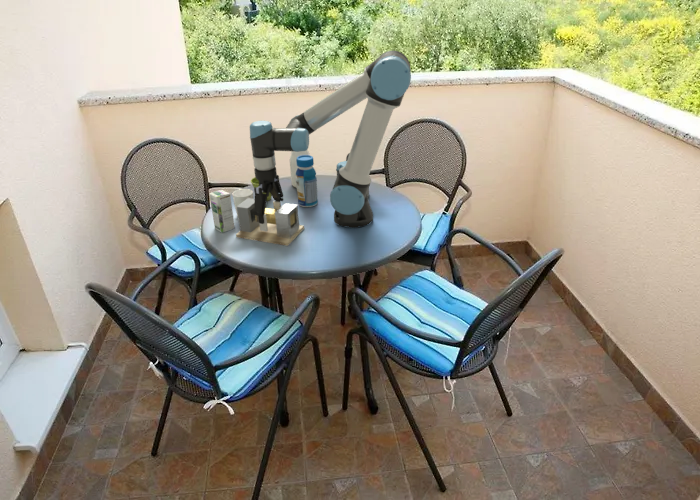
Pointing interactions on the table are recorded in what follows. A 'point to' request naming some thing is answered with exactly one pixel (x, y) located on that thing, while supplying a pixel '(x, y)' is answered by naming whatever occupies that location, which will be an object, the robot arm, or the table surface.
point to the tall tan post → (271, 216)
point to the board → (268, 235)
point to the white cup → (241, 196)
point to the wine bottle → (295, 165)
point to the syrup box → (222, 210)
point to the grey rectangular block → (286, 220)
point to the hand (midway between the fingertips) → (271, 223)
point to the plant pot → (256, 184)
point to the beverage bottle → (306, 181)
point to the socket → (247, 215)
